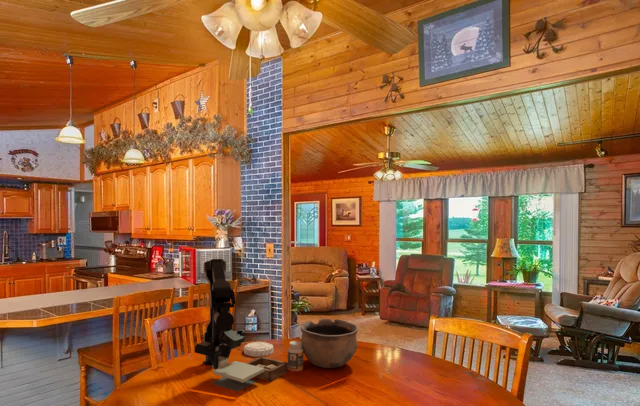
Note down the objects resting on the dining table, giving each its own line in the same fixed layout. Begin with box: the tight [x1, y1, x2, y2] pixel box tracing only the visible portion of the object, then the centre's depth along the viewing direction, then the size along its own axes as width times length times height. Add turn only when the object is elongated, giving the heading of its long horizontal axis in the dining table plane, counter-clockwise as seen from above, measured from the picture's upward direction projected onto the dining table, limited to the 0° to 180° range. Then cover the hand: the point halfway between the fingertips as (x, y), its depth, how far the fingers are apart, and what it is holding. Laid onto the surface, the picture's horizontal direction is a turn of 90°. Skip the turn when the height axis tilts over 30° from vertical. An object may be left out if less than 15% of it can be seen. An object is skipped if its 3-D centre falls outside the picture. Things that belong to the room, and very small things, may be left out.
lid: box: [211, 356, 265, 383], centre depth 141 cm, size 17×11×4 cm, turn 59°
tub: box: [246, 356, 289, 383], centre depth 150 cm, size 12×10×4 cm
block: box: [265, 365, 277, 370], centre depth 150 cm, size 3×3×2 cm
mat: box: [210, 377, 258, 392], centre depth 141 cm, size 12×10×1 cm
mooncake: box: [243, 341, 274, 358], centre depth 173 cm, size 12×12×4 cm
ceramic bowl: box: [299, 318, 359, 369], centre depth 161 cm, size 22×22×15 cm
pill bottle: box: [287, 340, 304, 372], centre depth 155 cm, size 6×6×10 cm
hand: (220, 367), depth 145 cm, fingers closed on lid, 4 cm apart
